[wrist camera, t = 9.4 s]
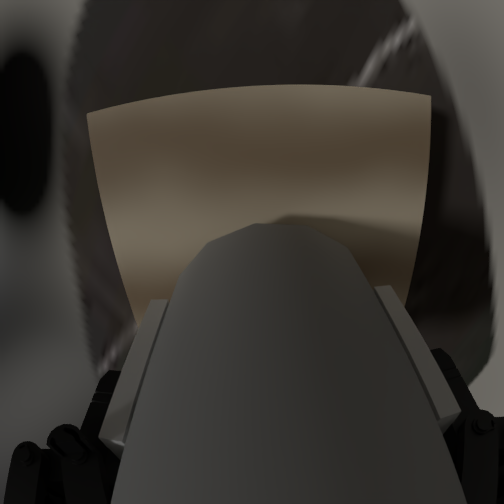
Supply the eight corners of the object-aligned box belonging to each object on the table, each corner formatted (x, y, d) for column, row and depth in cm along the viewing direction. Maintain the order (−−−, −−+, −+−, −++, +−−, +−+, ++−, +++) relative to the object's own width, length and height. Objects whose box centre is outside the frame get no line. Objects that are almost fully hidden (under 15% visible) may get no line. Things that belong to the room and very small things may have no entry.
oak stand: (362, 352, 22) (376, 392, 18) (179, 363, 22) (170, 405, 18) (391, 94, 13) (430, 95, 10) (123, 108, 14) (86, 113, 10)
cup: (340, 189, 10) (534, 468, 1) (380, 343, 14) (446, 528, 5) (137, 272, 12) (29, 513, 3) (227, 391, 15) (217, 569, 6)
